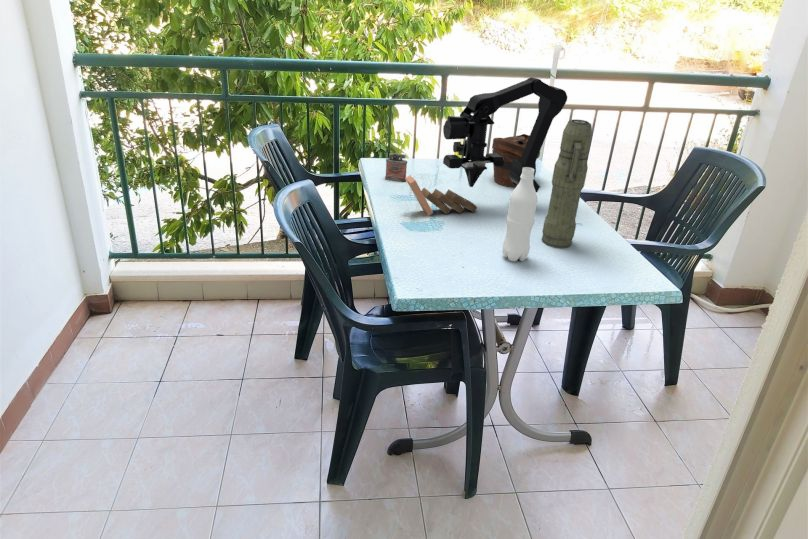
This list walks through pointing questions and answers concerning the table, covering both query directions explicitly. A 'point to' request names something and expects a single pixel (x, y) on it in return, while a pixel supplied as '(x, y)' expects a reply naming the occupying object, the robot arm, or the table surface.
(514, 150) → the case
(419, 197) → the end tile
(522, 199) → the water bottle
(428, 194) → the tile
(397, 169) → the lighter
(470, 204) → the tile
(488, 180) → the table surface
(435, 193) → the tile
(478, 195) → the table surface
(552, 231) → the thermos
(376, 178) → the table surface
